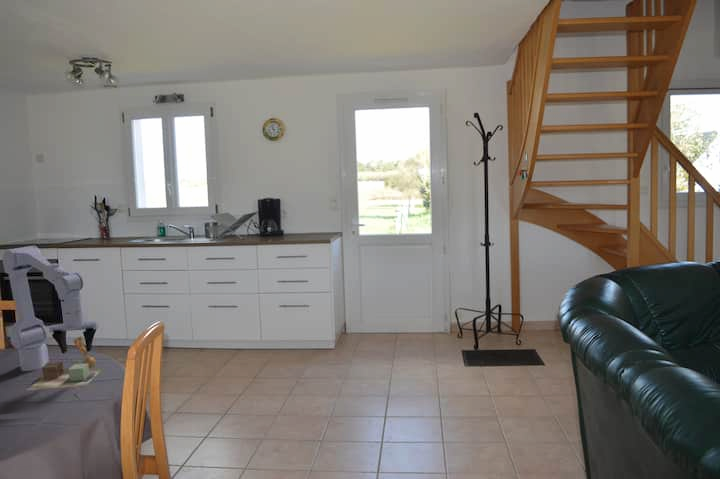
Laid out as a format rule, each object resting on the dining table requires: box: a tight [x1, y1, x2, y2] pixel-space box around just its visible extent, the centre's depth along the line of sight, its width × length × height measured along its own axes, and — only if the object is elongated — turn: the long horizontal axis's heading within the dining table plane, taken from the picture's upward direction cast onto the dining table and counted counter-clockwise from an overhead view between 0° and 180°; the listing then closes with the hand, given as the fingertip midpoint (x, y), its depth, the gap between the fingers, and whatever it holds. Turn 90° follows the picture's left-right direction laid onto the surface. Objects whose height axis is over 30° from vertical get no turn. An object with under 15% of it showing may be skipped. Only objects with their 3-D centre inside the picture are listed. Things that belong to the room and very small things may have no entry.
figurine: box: [73, 335, 97, 368], centre depth 188 cm, size 8×6×12 cm
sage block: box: [67, 363, 90, 381], centre depth 177 cm, size 4×4×4 cm
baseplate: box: [26, 368, 103, 391], centre depth 177 cm, size 14×18×1 cm
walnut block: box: [41, 361, 65, 379], centre depth 180 cm, size 4×4×4 cm
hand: (76, 351), depth 176 cm, fingers open, 7 cm apart
